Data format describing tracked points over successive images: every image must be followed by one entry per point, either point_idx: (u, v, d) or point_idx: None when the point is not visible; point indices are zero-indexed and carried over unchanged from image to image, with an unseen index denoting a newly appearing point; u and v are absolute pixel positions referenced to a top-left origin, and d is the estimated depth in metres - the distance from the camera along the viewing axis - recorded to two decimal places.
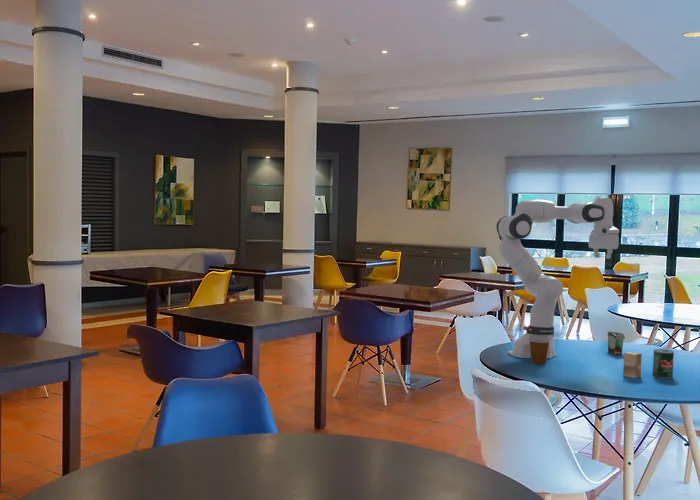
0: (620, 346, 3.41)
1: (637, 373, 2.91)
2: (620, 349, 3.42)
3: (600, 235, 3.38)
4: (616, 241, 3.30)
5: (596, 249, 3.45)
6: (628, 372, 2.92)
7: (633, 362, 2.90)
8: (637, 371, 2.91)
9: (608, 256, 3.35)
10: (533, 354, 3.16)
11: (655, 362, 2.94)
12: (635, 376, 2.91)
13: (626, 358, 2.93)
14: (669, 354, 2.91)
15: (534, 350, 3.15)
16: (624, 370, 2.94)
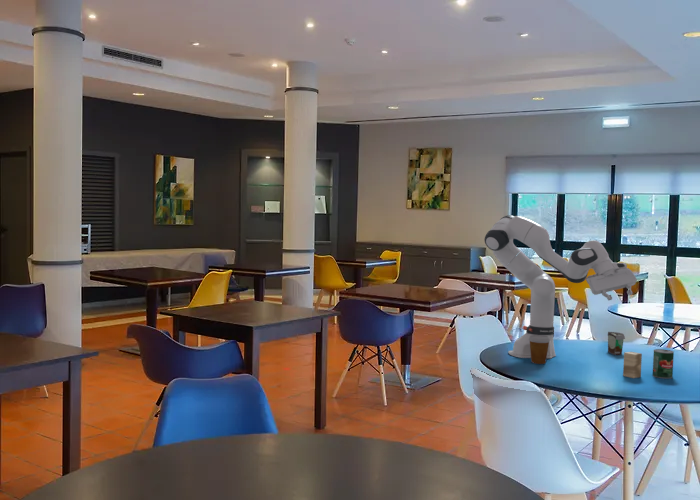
0: (620, 346, 3.41)
1: (637, 373, 2.91)
2: (620, 349, 3.42)
3: (614, 272, 3.06)
4: None
5: None
6: (628, 372, 2.92)
7: (633, 362, 2.90)
8: (637, 371, 2.91)
9: None
10: (533, 354, 3.16)
11: (655, 362, 2.94)
12: (635, 376, 2.91)
13: (626, 358, 2.93)
14: (669, 354, 2.91)
15: (534, 350, 3.15)
16: (624, 370, 2.94)
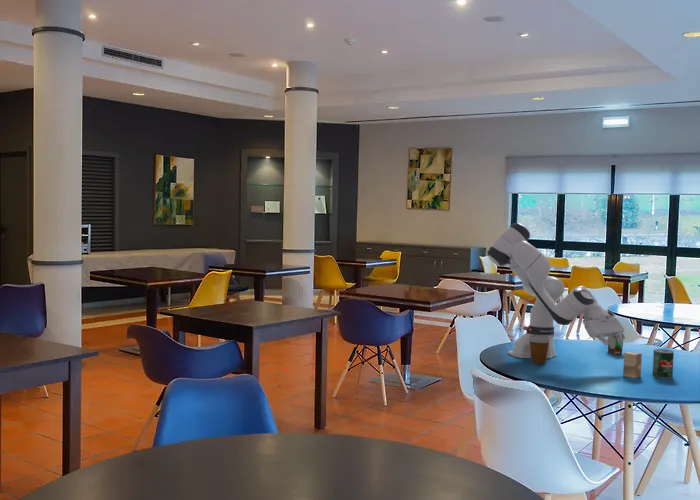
0: (620, 346, 3.41)
1: (637, 373, 2.91)
2: (620, 349, 3.42)
3: (606, 319, 3.06)
4: None
5: None
6: (628, 372, 2.92)
7: (633, 362, 2.90)
8: (637, 371, 2.91)
9: None
10: (533, 354, 3.16)
11: (655, 362, 2.94)
12: (635, 376, 2.91)
13: (626, 358, 2.93)
14: (669, 354, 2.91)
15: (534, 350, 3.15)
16: (624, 370, 2.94)
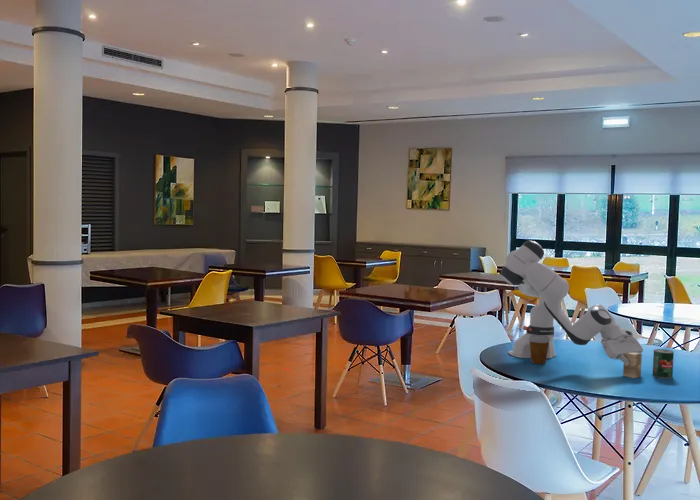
0: None
1: (637, 373, 2.91)
2: None
3: (624, 338, 2.98)
4: None
5: None
6: (628, 372, 2.92)
7: (633, 362, 2.90)
8: (637, 371, 2.91)
9: None
10: (533, 354, 3.16)
11: (655, 362, 2.94)
12: (635, 376, 2.91)
13: (626, 358, 2.93)
14: (669, 354, 2.91)
15: (534, 350, 3.15)
16: (624, 370, 2.94)
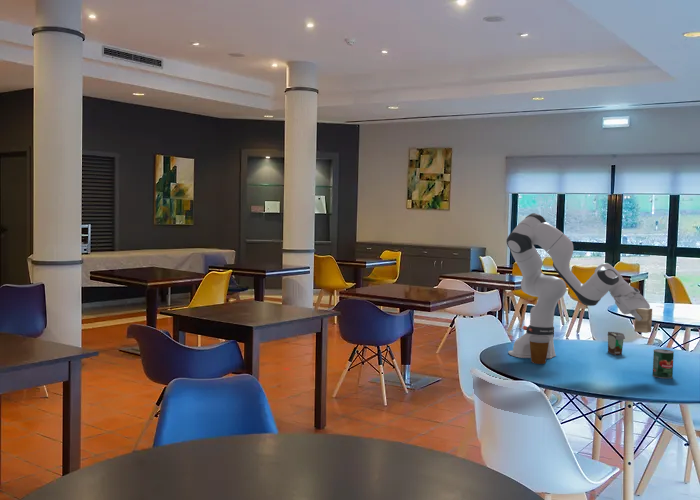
0: (620, 346, 3.41)
1: (649, 328, 2.97)
2: (620, 349, 3.42)
3: (634, 295, 3.03)
4: None
5: None
6: (640, 327, 2.97)
7: (645, 317, 2.95)
8: (648, 326, 2.96)
9: None
10: (533, 354, 3.16)
11: (655, 362, 2.94)
12: (647, 331, 2.96)
13: None
14: (669, 354, 2.91)
15: (534, 350, 3.15)
16: (636, 325, 2.98)
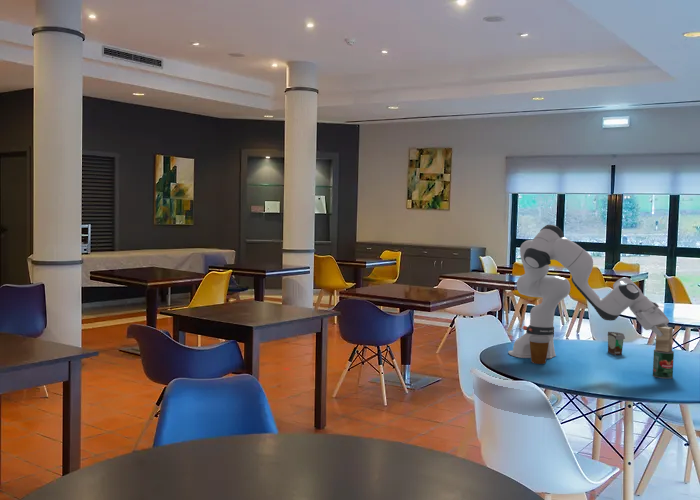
0: (620, 346, 3.41)
1: (670, 347, 2.93)
2: (620, 349, 3.42)
3: None
4: None
5: None
6: (661, 346, 2.93)
7: (667, 336, 2.91)
8: (669, 345, 2.93)
9: None
10: (533, 354, 3.16)
11: (655, 362, 2.94)
12: (668, 350, 2.92)
13: None
14: (669, 354, 2.91)
15: (534, 350, 3.15)
16: (656, 345, 2.94)
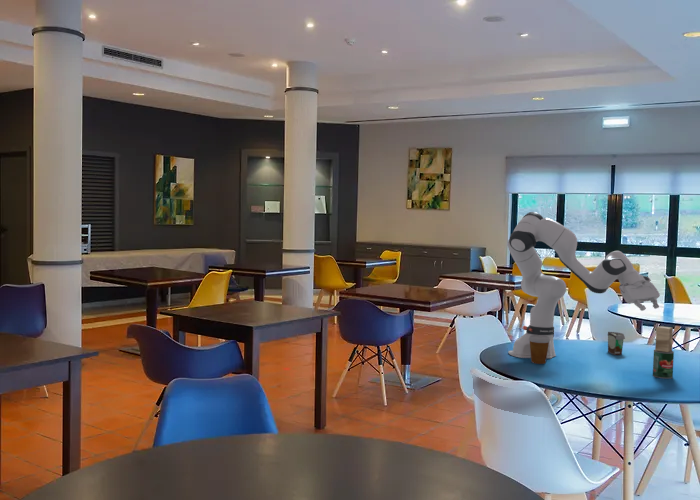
0: (620, 346, 3.41)
1: (670, 347, 2.93)
2: (620, 349, 3.42)
3: (642, 284, 3.04)
4: None
5: None
6: (661, 346, 2.93)
7: (667, 336, 2.91)
8: (669, 345, 2.93)
9: None
10: (533, 354, 3.16)
11: (655, 362, 2.94)
12: (668, 350, 2.92)
13: (659, 333, 2.94)
14: (669, 354, 2.91)
15: (534, 350, 3.15)
16: (656, 345, 2.94)
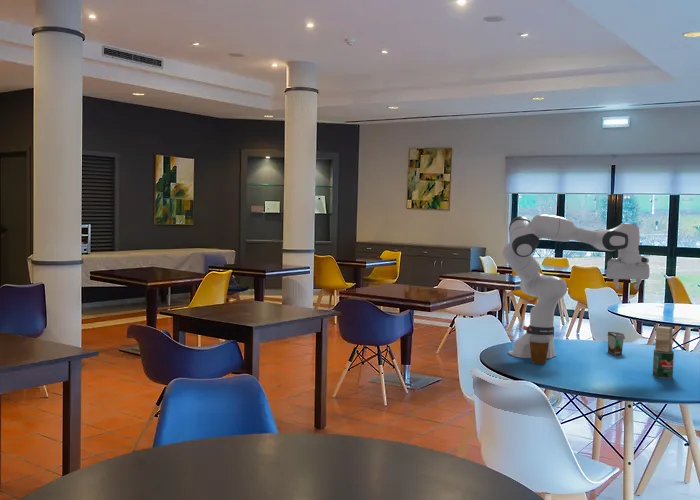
0: (620, 346, 3.41)
1: (670, 347, 2.93)
2: (620, 349, 3.42)
3: (634, 265, 3.13)
4: None
5: None
6: (661, 346, 2.93)
7: (667, 336, 2.91)
8: (669, 345, 2.93)
9: None
10: (533, 354, 3.16)
11: (655, 362, 2.94)
12: (668, 350, 2.92)
13: (659, 332, 2.94)
14: (669, 354, 2.91)
15: (534, 350, 3.15)
16: (656, 345, 2.94)
